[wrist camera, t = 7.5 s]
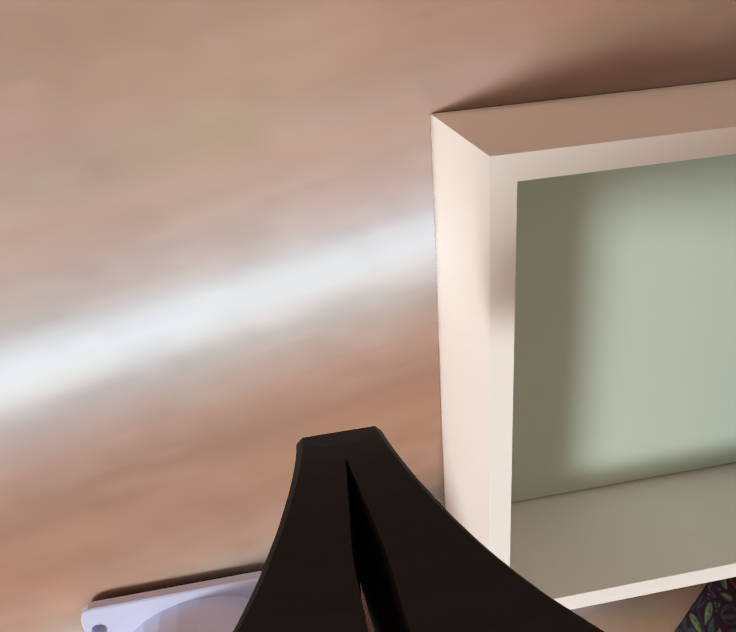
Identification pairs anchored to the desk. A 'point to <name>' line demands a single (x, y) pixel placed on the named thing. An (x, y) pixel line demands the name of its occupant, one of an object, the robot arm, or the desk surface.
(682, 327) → the white box
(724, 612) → the coffee bag
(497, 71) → the desk surface
